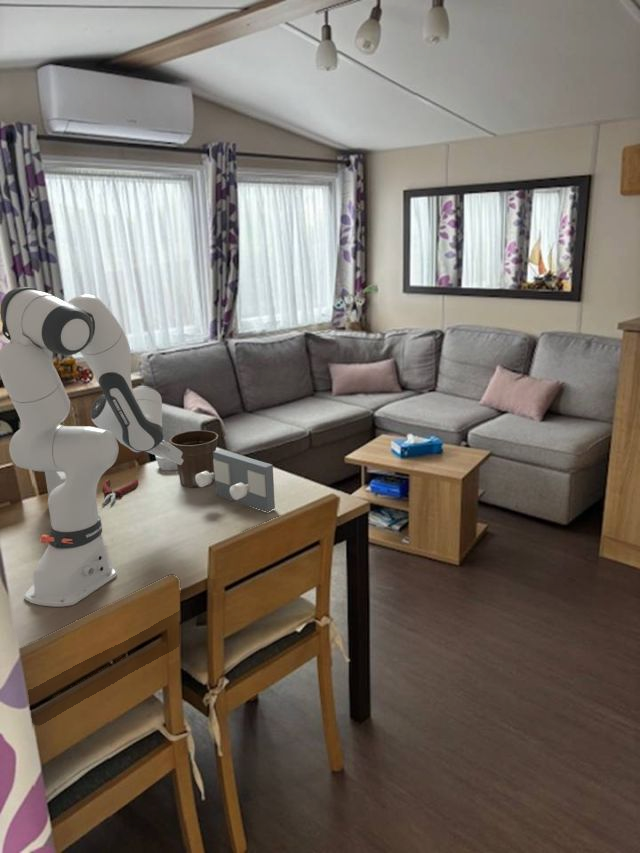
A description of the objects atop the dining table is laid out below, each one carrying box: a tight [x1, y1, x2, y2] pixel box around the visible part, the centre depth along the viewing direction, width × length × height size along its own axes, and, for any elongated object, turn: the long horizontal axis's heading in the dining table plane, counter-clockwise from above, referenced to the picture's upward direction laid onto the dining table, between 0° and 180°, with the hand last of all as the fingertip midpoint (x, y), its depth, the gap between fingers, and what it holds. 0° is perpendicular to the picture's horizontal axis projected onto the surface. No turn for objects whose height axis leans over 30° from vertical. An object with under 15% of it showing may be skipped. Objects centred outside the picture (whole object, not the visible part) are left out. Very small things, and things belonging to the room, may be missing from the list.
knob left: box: [195, 471, 215, 488], centre depth 199 cm, size 5×4×4 cm
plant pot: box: [169, 429, 219, 488], centre depth 218 cm, size 16×16×16 cm
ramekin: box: [154, 455, 178, 471], centre depth 235 cm, size 11×11×5 cm
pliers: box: [101, 478, 139, 507], centre depth 210 cm, size 12×20×3 cm, turn 2°
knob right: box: [230, 482, 250, 500], centre depth 189 cm, size 5×4×4 cm
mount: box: [213, 448, 276, 512], centre depth 200 cm, size 4×24×15 cm, turn 49°
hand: (171, 458), depth 187 cm, fingers open, 8 cm apart
